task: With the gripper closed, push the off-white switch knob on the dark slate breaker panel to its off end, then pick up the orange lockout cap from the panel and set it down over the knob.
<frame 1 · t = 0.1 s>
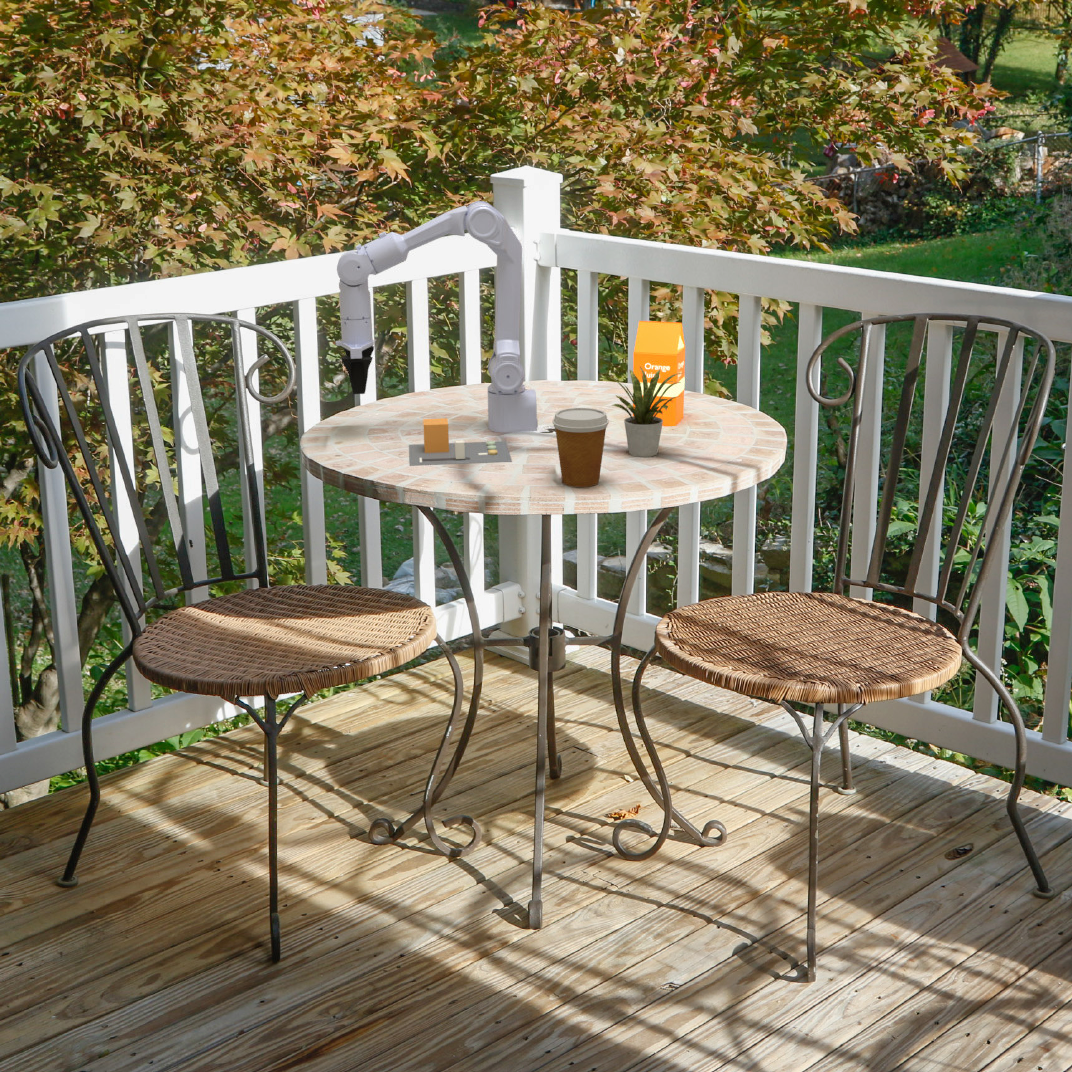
hand: (360, 389, 248), 10 cm above the table, tool pointing down, fingers open, 7 cm apart
orange juice: (658, 421, 263), on the table
lockout cap: (436, 449, 239), point 1 cm above the table, touching breaker panel
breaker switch: (459, 449, 232), point 3 cm above the table, slide at 0.0 cm
disposable coffee cup: (580, 483, 223), on the table
house plant: (650, 454, 240), on the table
breaker panel: (459, 460, 237), on the table
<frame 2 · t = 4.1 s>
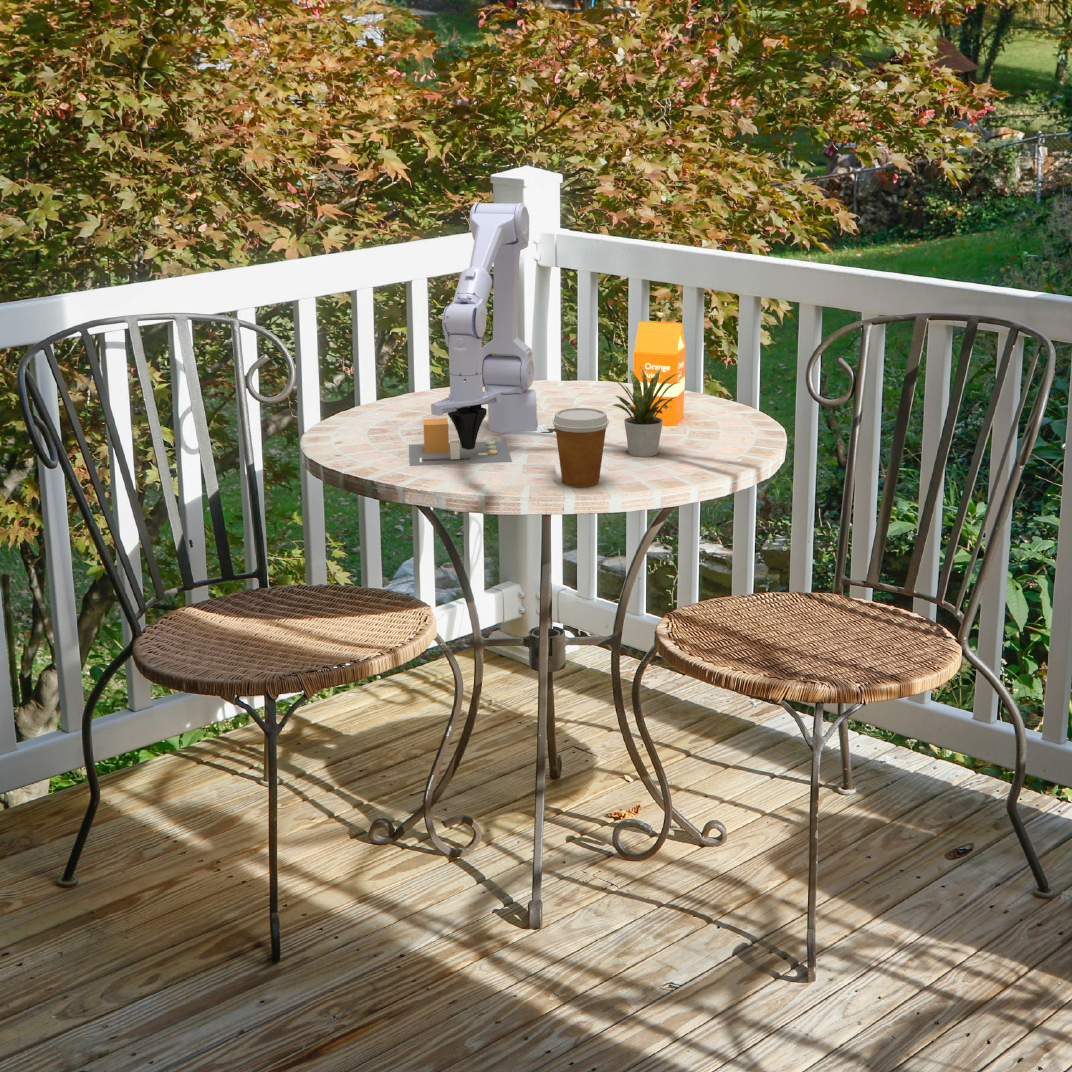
hand: (468, 448, 232), 3 cm above the table, tool pointing down, fingers closed
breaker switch: (454, 449, 232), point 3 cm above the table, slide at 0.9 cm, touching gripper
everything else where it was.
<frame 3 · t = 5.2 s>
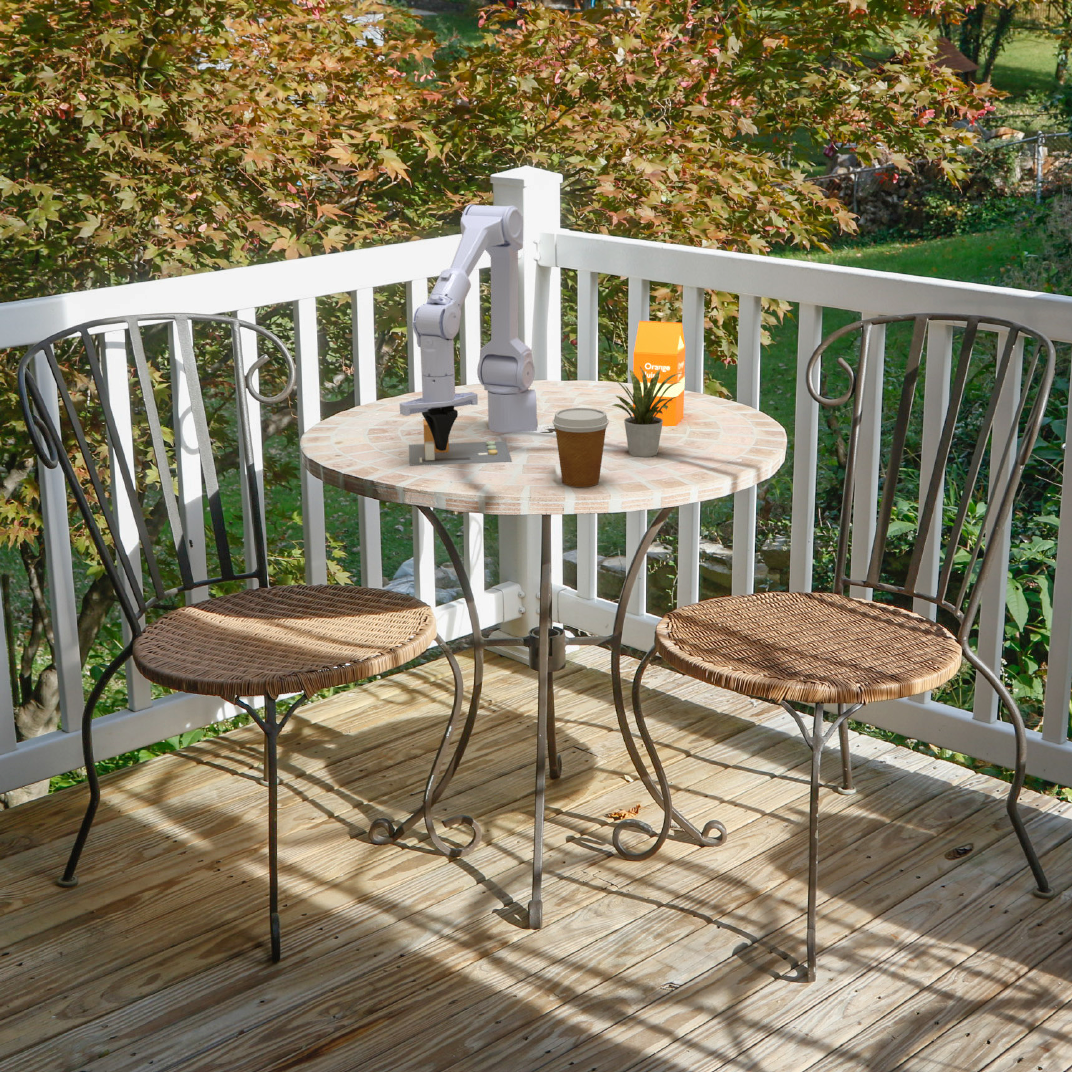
hand: (440, 449, 231), 3 cm above the table, tool pointing down, fingers closed
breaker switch: (429, 450, 231), point 3 cm above the table, slide at 5.3 cm, touching gripper
everything else where it was.
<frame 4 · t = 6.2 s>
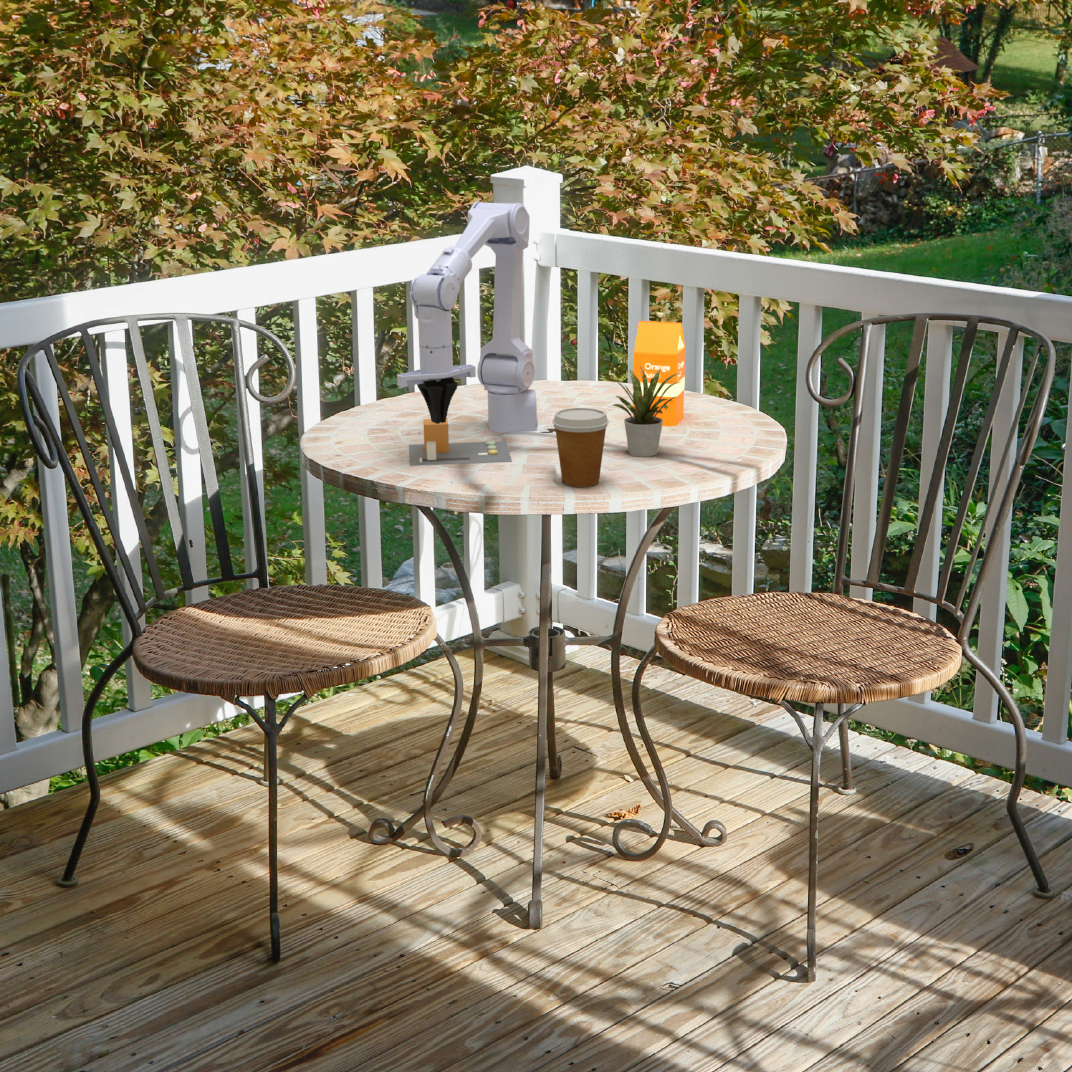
hand: (438, 421, 230), 8 cm above the table, tool pointing down, fingers closed
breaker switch: (431, 450, 231), point 3 cm above the table, slide at 5.1 cm
everything else where it was.
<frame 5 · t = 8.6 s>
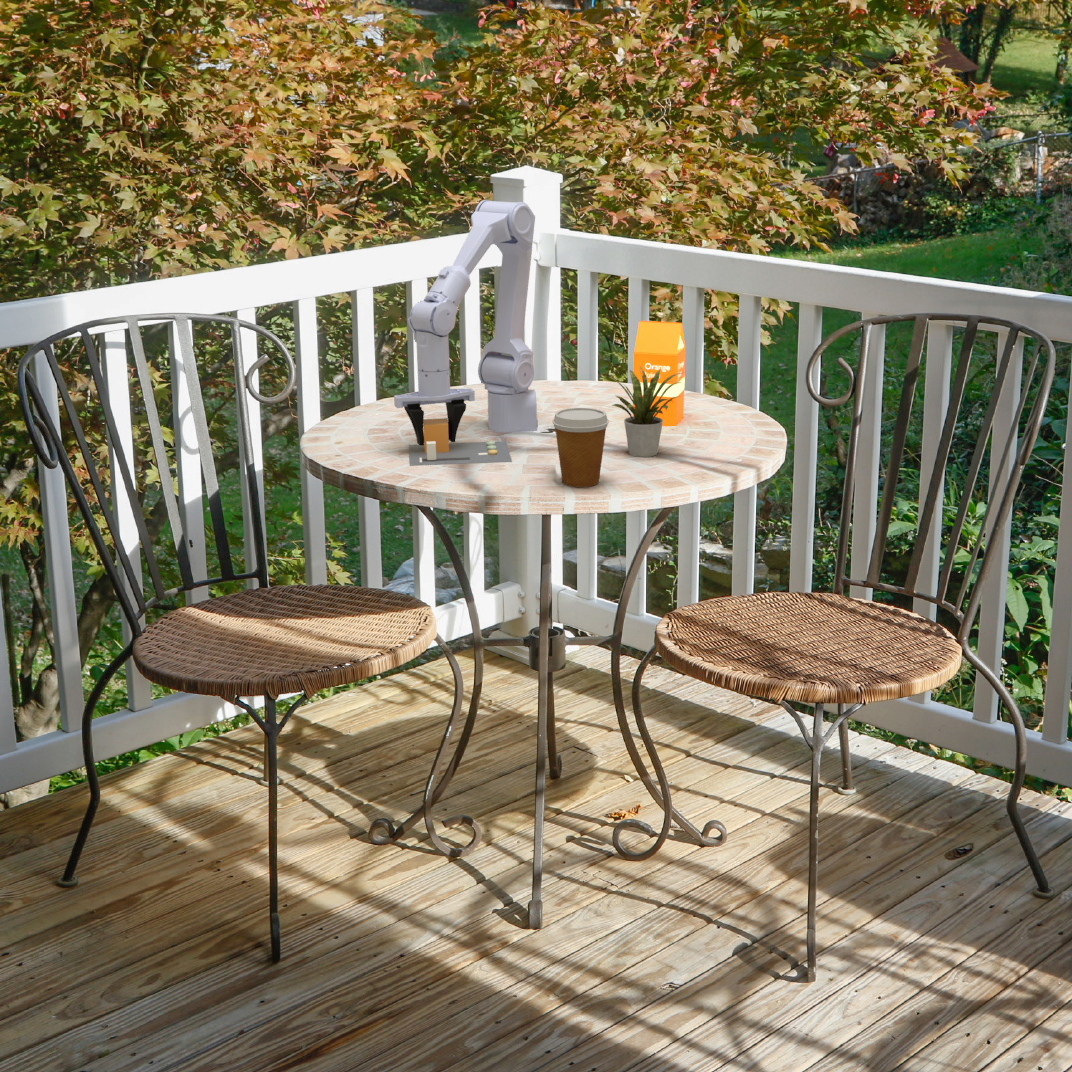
hand: (436, 442, 238), 3 cm above the table, tool pointing down, fingers closed on lockout cap, 5 cm apart
lockout cap: (436, 449, 239), point 2 cm above the table, touching breaker panel, gripper
everything else where it was.
when the fingers open (4 cm above the table, at t = 13.9 s): lockout cap stays where it is, resting on breaker panel.
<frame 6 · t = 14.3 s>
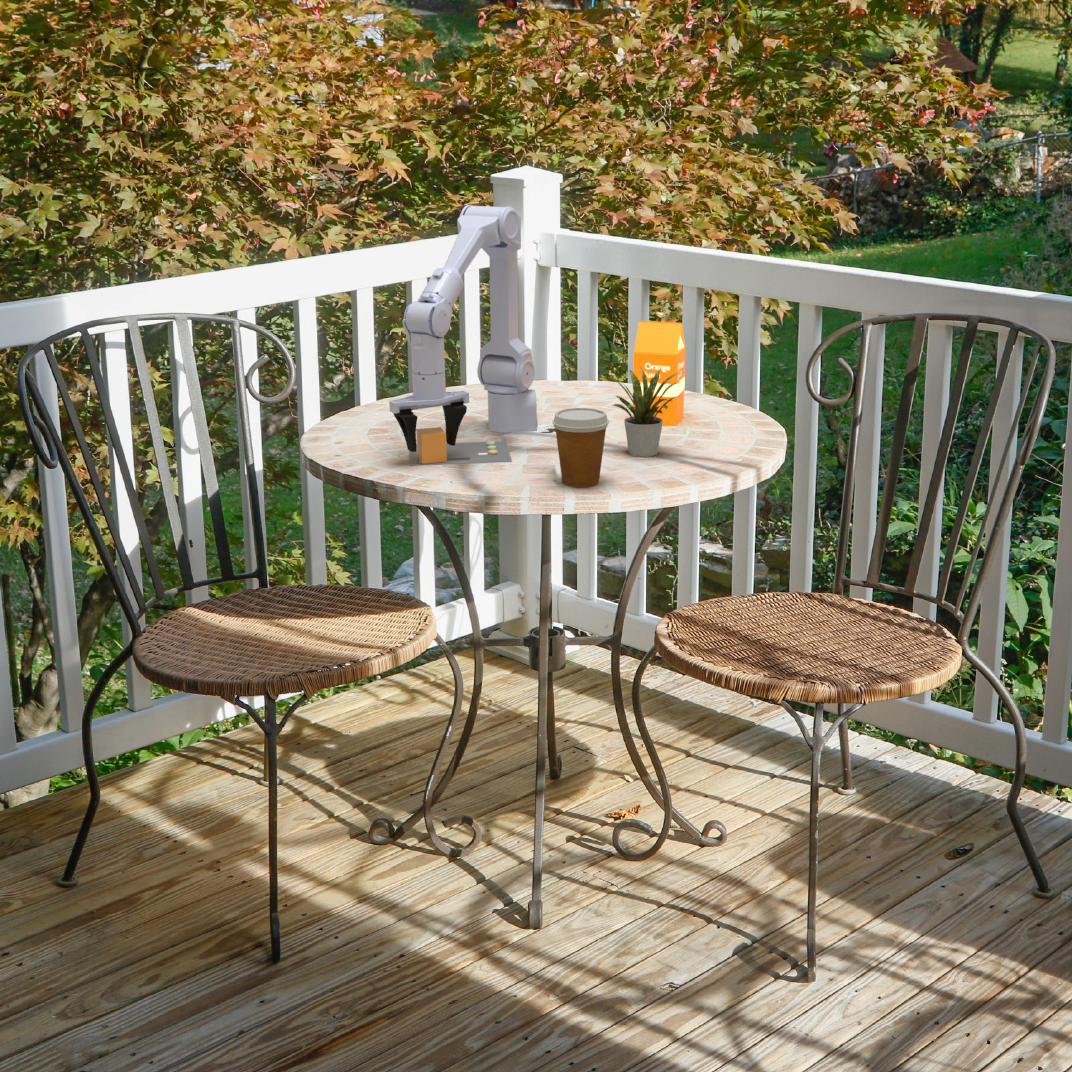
hand: (431, 447, 231), 4 cm above the table, tool pointing down, fingers open, 7 cm apart
lockout cap: (432, 459, 232), point 2 cm above the table, touching breaker panel
everything else where it was.
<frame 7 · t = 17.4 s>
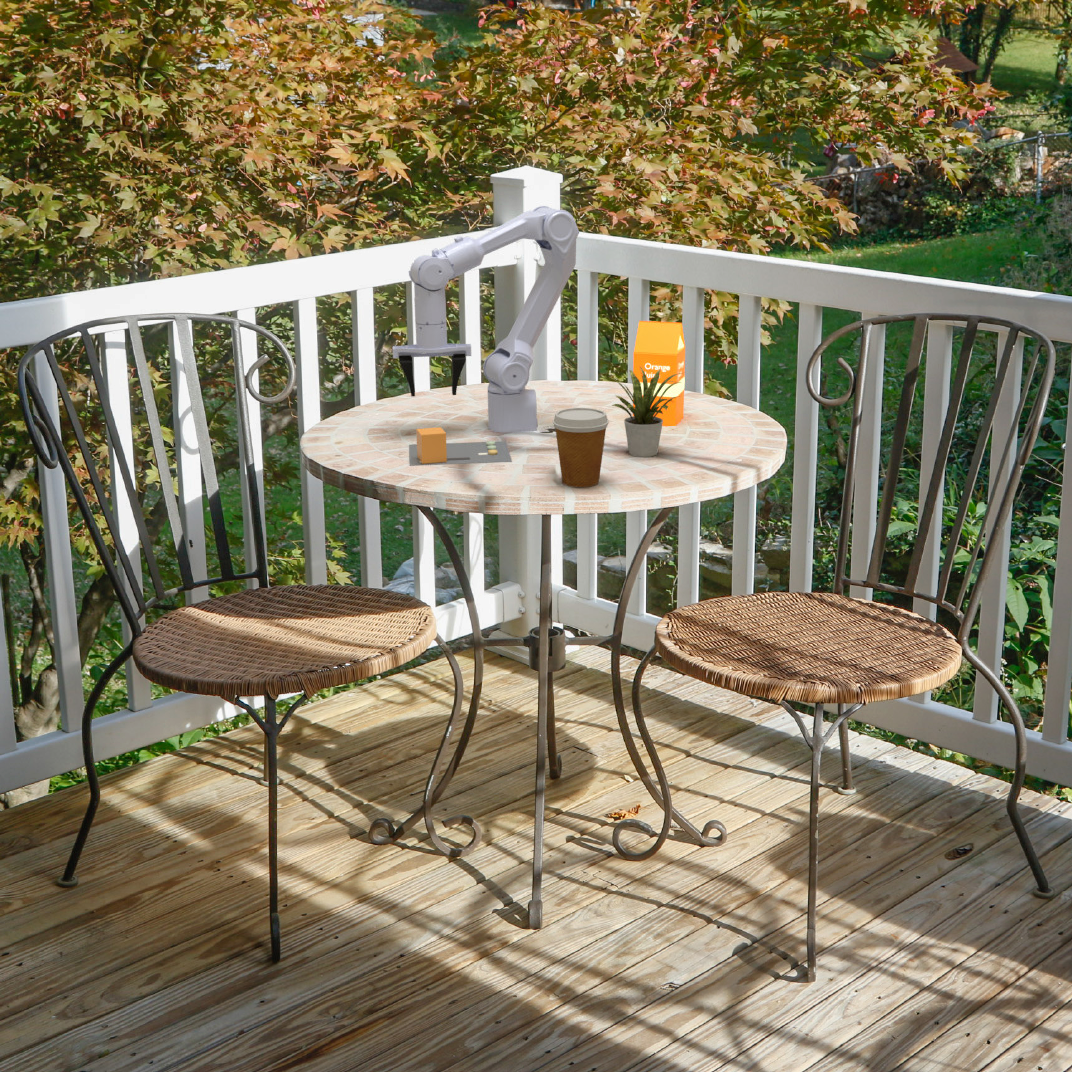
hand: (433, 394, 245), 9 cm above the table, tool pointing down, fingers open, 7 cm apart
nothing on the table moved.
at the end: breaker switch slide at 5.1 cm; lockout cap 0.0 cm from the target spot, point 1.6 cm above the table; lockout cap tilted 1° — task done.
